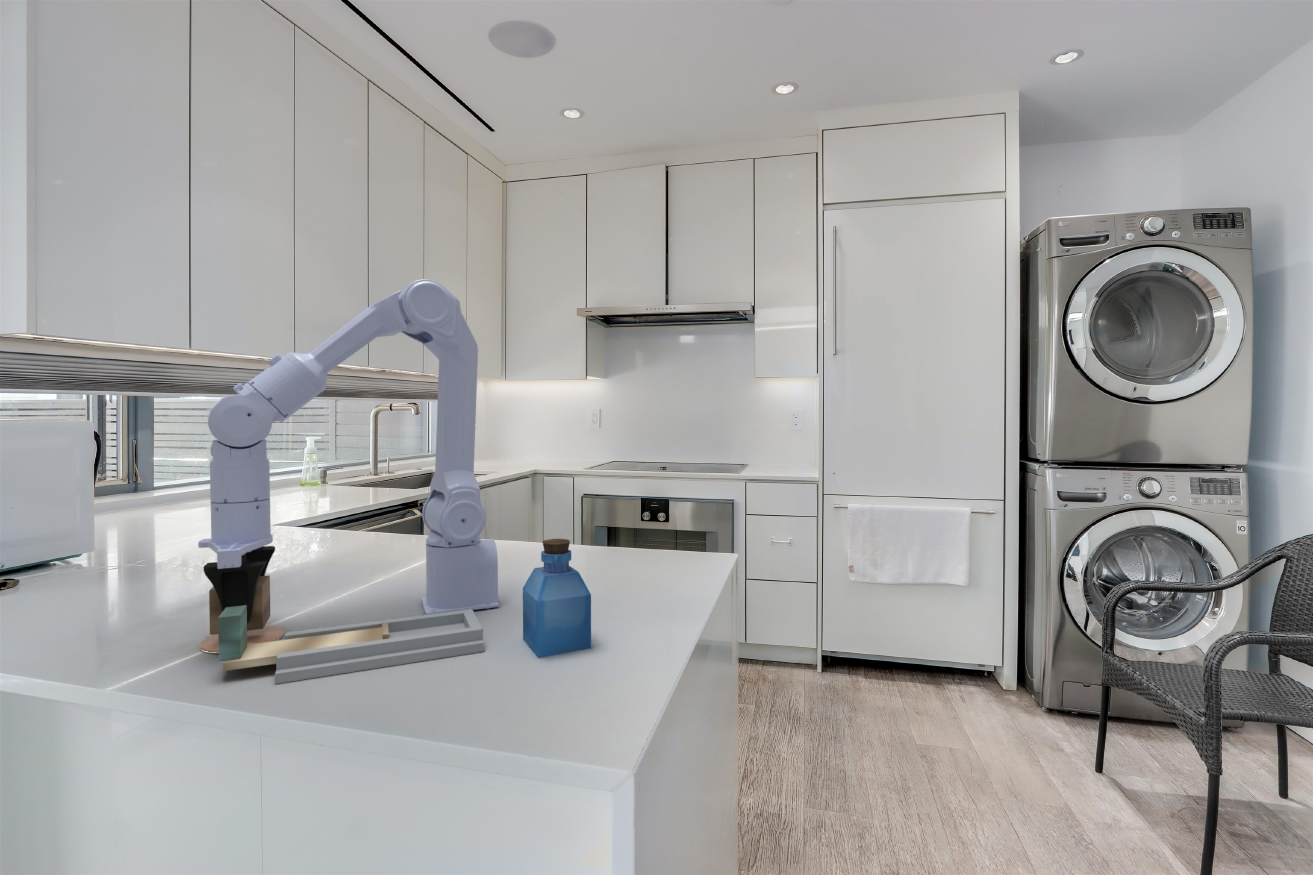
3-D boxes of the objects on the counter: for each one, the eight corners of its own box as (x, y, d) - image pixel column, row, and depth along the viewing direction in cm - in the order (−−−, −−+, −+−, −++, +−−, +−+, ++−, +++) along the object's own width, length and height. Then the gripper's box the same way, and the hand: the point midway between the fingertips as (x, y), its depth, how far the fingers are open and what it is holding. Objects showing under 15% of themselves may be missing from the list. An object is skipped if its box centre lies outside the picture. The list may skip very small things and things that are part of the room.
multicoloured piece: (387, 633, 70) (387, 588, 70) (388, 647, 66) (388, 600, 66) (228, 654, 64) (227, 605, 64) (217, 671, 60) (216, 619, 59)
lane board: (471, 623, 77) (470, 606, 77) (484, 651, 68) (484, 631, 68) (287, 648, 68) (287, 629, 68) (275, 683, 59) (274, 661, 59)
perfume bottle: (537, 658, 66) (537, 548, 66) (523, 639, 72) (522, 538, 71) (591, 648, 69) (591, 543, 69) (572, 631, 75) (572, 534, 74)
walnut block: (270, 615, 74) (269, 575, 74) (262, 628, 69) (262, 585, 69) (221, 621, 72) (220, 579, 72) (209, 634, 67) (209, 590, 67)
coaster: (287, 625, 76) (287, 621, 76) (278, 646, 69) (278, 642, 69) (209, 634, 73) (209, 630, 73) (192, 658, 66) (192, 654, 66)
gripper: (213, 494, 75) (215, 603, 76) (180, 510, 62) (183, 642, 62) (280, 491, 78) (281, 596, 79) (261, 506, 65) (263, 632, 65)
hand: (243, 616), depth 71 cm, fingers closed on walnut block, 5 cm apart
